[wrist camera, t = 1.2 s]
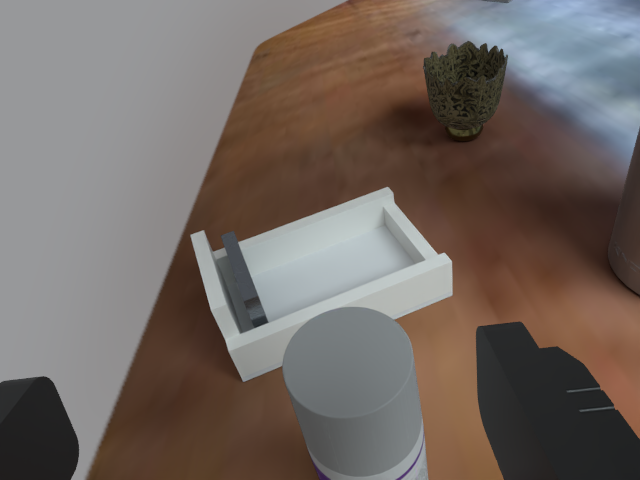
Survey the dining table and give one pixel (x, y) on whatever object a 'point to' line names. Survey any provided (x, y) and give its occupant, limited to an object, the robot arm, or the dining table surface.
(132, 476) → the dining table surface
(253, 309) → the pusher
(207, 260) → the white drawer
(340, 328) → the container
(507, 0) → the perfume bottle
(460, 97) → the cup
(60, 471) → the robot arm
